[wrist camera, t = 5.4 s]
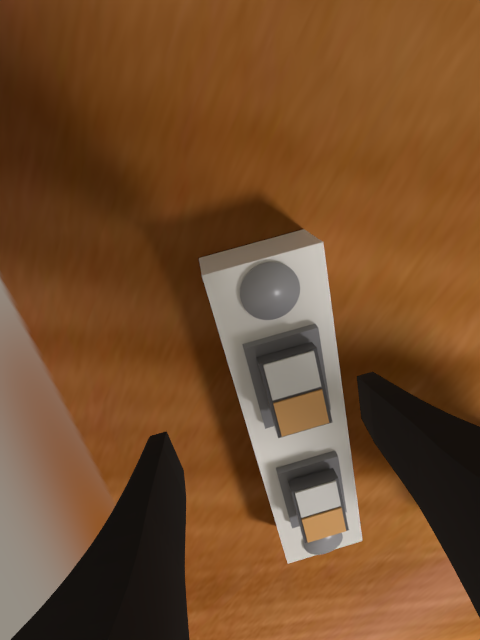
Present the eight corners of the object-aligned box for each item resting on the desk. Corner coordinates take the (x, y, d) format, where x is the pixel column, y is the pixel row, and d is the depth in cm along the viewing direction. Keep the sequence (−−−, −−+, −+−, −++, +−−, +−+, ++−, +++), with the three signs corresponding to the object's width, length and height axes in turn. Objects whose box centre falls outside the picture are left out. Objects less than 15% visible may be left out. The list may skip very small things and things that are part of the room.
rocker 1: (326, 413, 20) (333, 423, 19) (274, 428, 20) (278, 439, 19) (311, 341, 19) (317, 348, 18) (256, 357, 19) (259, 365, 18)
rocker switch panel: (346, 506, 31) (365, 547, 28) (278, 527, 31) (289, 570, 28) (304, 229, 20) (326, 244, 17) (198, 258, 20) (202, 279, 17)
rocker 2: (343, 518, 25) (349, 531, 24) (301, 531, 25) (305, 544, 24) (333, 467, 23) (338, 479, 22) (287, 481, 23) (291, 493, 22)
